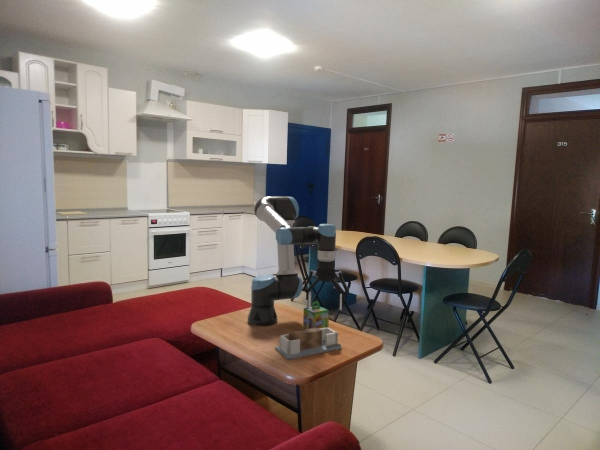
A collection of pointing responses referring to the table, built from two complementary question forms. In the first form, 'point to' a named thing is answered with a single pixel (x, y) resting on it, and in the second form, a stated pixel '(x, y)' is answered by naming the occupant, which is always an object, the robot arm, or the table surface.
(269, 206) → the robot arm
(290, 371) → the table surface
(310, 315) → the chalk box
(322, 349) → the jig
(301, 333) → the slat
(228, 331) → the table surface
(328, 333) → the end cap
